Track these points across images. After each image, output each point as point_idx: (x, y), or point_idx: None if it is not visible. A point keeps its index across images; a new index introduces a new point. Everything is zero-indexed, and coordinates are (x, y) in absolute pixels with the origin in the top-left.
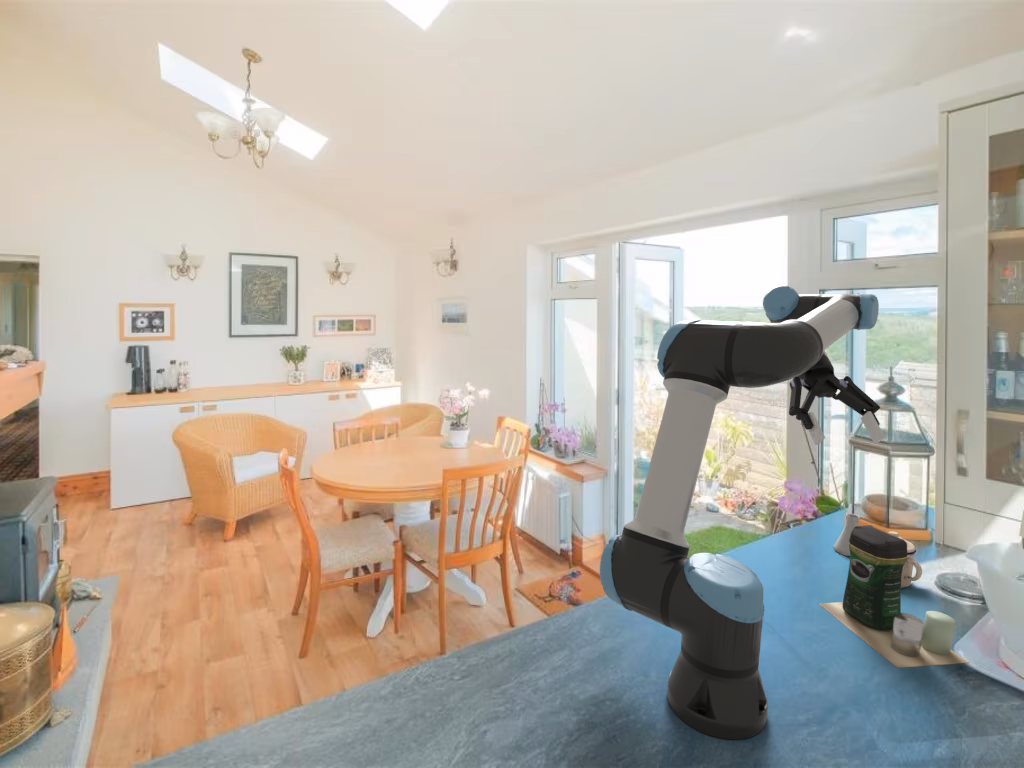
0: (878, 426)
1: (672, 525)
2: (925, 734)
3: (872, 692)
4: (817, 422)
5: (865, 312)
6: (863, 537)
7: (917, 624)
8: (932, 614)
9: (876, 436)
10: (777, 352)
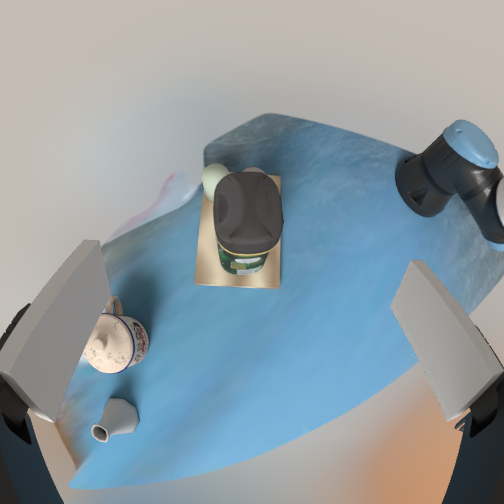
0: (55, 277)
1: None
2: (306, 134)
3: (314, 169)
4: (458, 318)
5: None
6: (278, 208)
7: (252, 169)
8: (218, 179)
9: (97, 277)
10: None
